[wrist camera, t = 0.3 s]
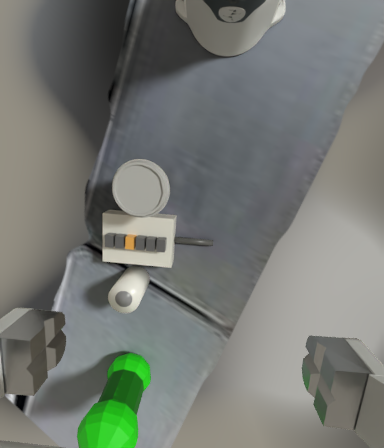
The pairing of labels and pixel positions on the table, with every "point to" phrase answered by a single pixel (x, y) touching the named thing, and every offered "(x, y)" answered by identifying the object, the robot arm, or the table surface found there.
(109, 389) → the plastic bottle
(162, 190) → the disposable coffee cup
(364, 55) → the table surface
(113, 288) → the white hollow cylinder
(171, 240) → the power strip
